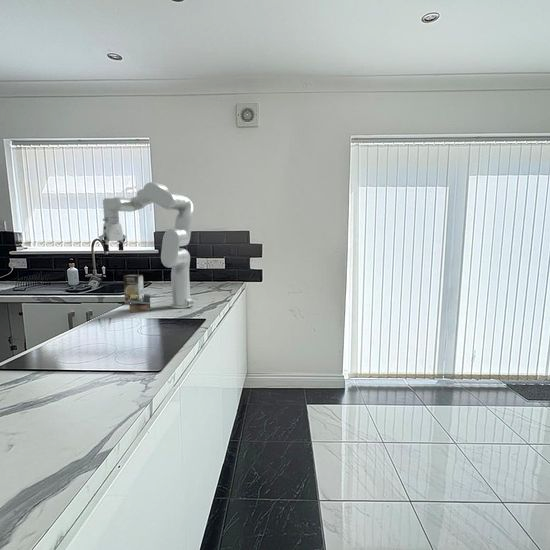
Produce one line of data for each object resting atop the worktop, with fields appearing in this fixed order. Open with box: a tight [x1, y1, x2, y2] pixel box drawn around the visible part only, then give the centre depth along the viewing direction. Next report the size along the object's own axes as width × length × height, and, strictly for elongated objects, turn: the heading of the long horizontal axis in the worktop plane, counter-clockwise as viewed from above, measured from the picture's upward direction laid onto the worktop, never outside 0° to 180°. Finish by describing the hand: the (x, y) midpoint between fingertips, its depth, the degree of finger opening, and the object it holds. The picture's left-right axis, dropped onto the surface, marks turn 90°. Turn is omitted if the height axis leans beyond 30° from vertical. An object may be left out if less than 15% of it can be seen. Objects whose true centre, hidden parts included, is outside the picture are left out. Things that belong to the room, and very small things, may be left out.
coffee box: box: [122, 274, 145, 305], centre depth 199 cm, size 9×6×16 cm
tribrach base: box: [129, 303, 152, 313], centre depth 182 cm, size 10×8×3 cm
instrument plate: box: [130, 293, 151, 305], centre depth 181 cm, size 10×8×4 cm
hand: (114, 251), depth 198 cm, fingers open, 9 cm apart
